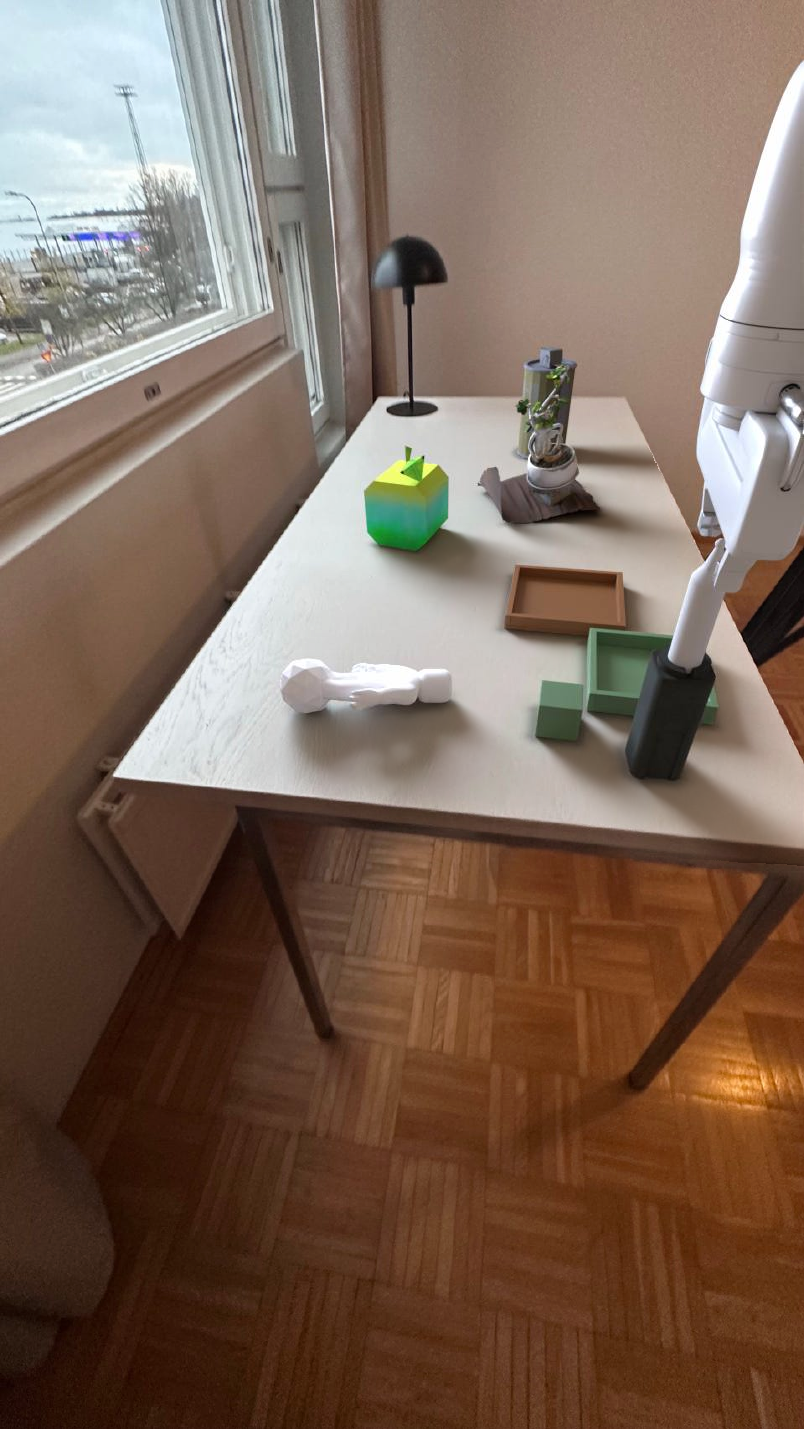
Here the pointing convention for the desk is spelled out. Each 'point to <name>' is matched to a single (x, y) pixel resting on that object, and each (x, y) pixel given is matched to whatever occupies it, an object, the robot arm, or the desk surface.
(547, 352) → the canister
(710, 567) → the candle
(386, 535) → the low-poly cube fruit
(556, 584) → the wood tray
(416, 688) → the figure
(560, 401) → the potted plant
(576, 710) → the green block
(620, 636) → the green tray
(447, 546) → the desk surface
